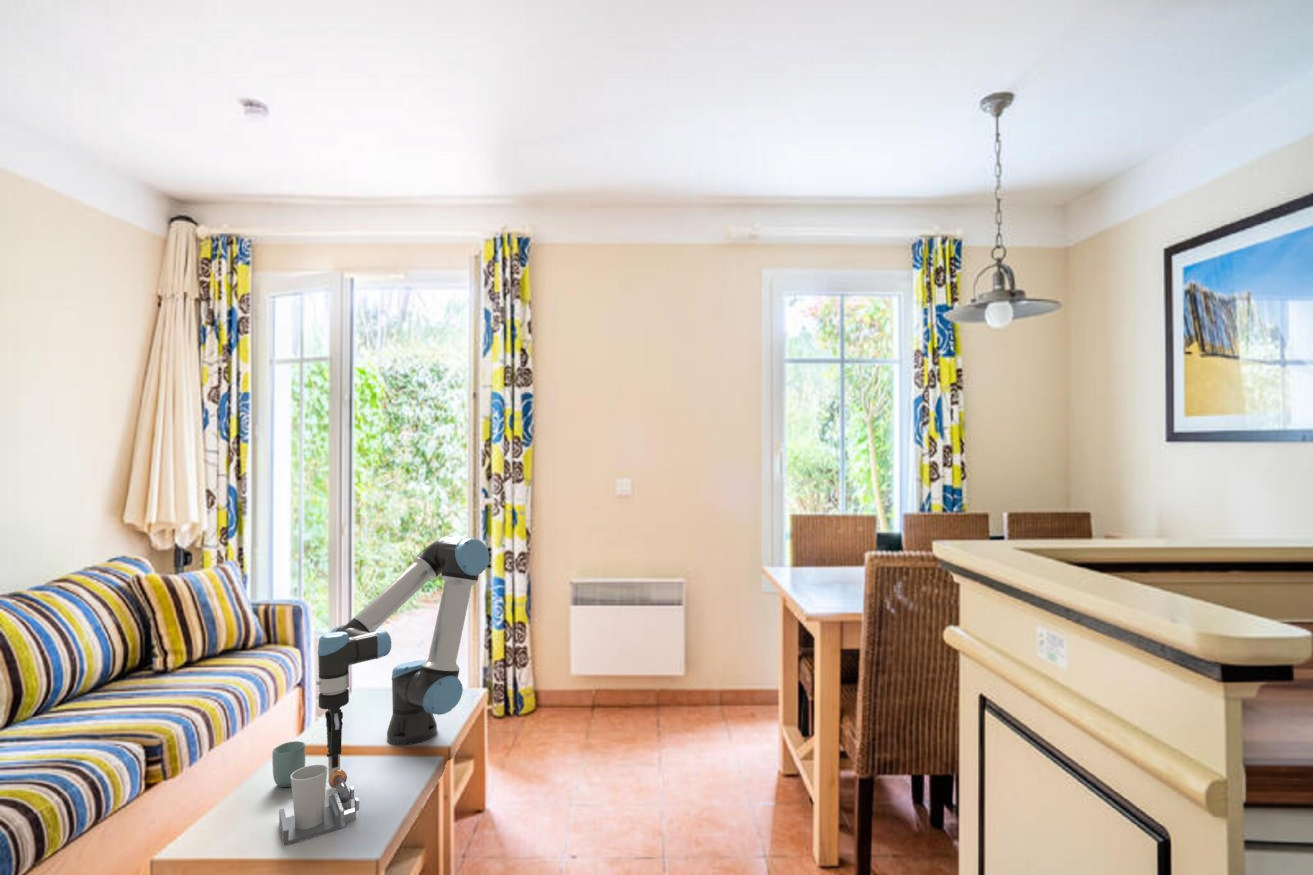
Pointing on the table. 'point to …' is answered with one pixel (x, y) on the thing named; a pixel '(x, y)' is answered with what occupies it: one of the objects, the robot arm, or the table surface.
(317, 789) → the cup
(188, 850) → the table surface
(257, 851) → the table surface
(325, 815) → the dock
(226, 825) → the table surface
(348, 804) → the lug rail
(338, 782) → the lock pin
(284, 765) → the cup
